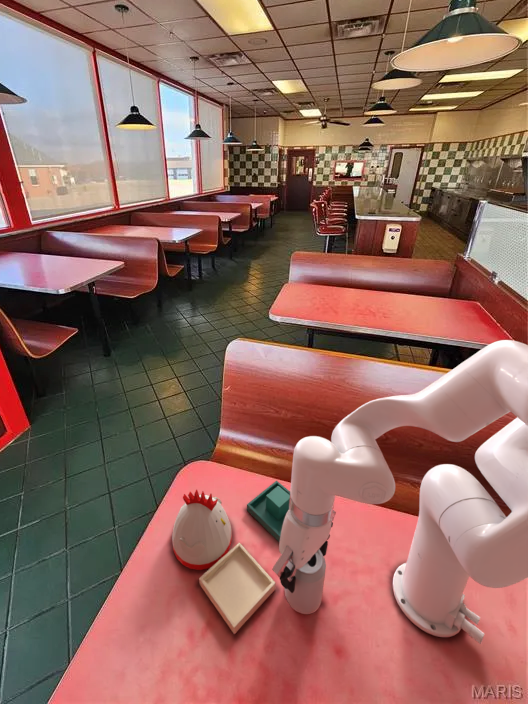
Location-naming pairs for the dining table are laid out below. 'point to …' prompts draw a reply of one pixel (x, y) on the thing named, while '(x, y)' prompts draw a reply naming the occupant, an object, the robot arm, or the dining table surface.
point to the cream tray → (237, 586)
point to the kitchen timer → (201, 531)
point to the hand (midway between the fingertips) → (303, 567)
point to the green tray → (267, 512)
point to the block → (277, 502)
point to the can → (308, 585)
